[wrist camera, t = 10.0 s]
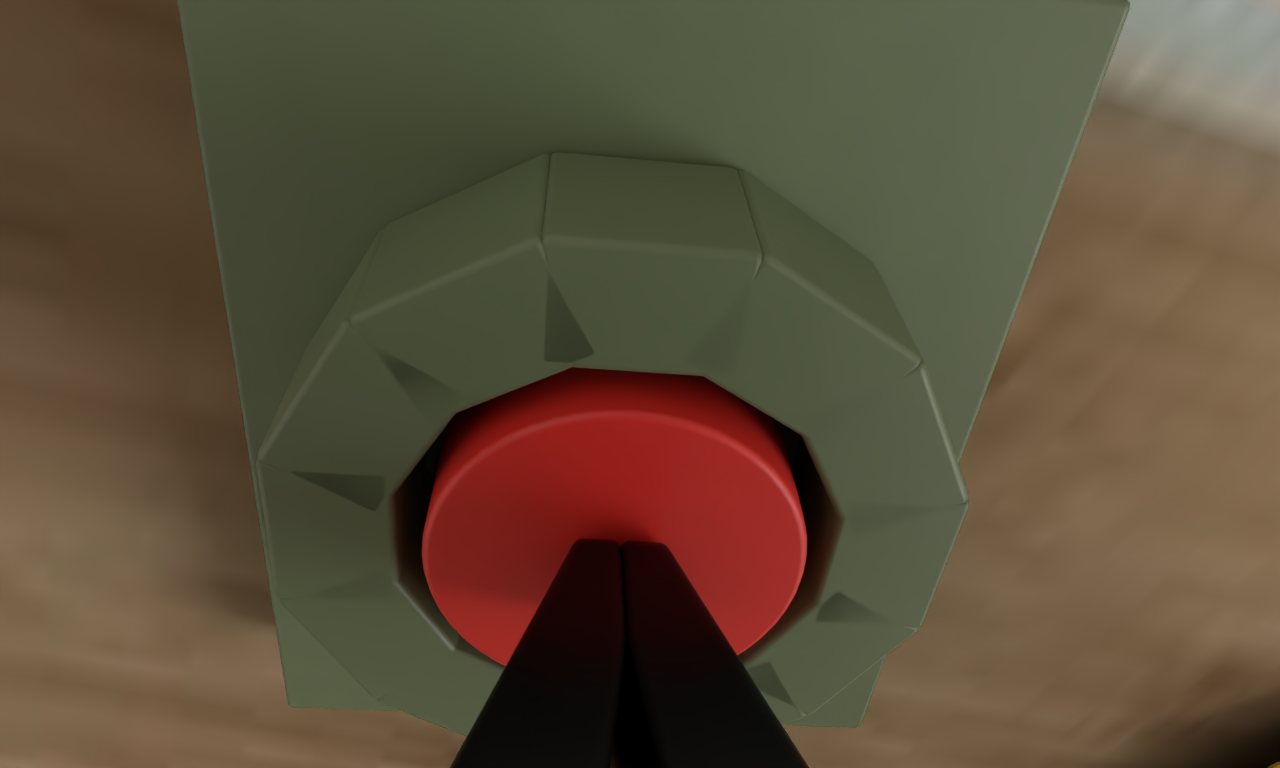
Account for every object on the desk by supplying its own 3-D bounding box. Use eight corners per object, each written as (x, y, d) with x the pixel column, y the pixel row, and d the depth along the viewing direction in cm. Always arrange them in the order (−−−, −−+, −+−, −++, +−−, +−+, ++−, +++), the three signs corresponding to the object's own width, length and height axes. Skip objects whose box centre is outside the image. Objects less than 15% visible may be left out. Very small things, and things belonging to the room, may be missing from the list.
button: (749, 577, 12) (769, 698, 10) (446, 561, 11) (424, 685, 10) (810, 320, 10) (847, 427, 8) (443, 293, 9) (415, 400, 8)
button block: (843, 662, 15) (892, 851, 12) (308, 639, 14) (247, 835, 12) (1079, -31, 9) (1254, 64, 7) (208, -125, 8) (48, -60, 6)
